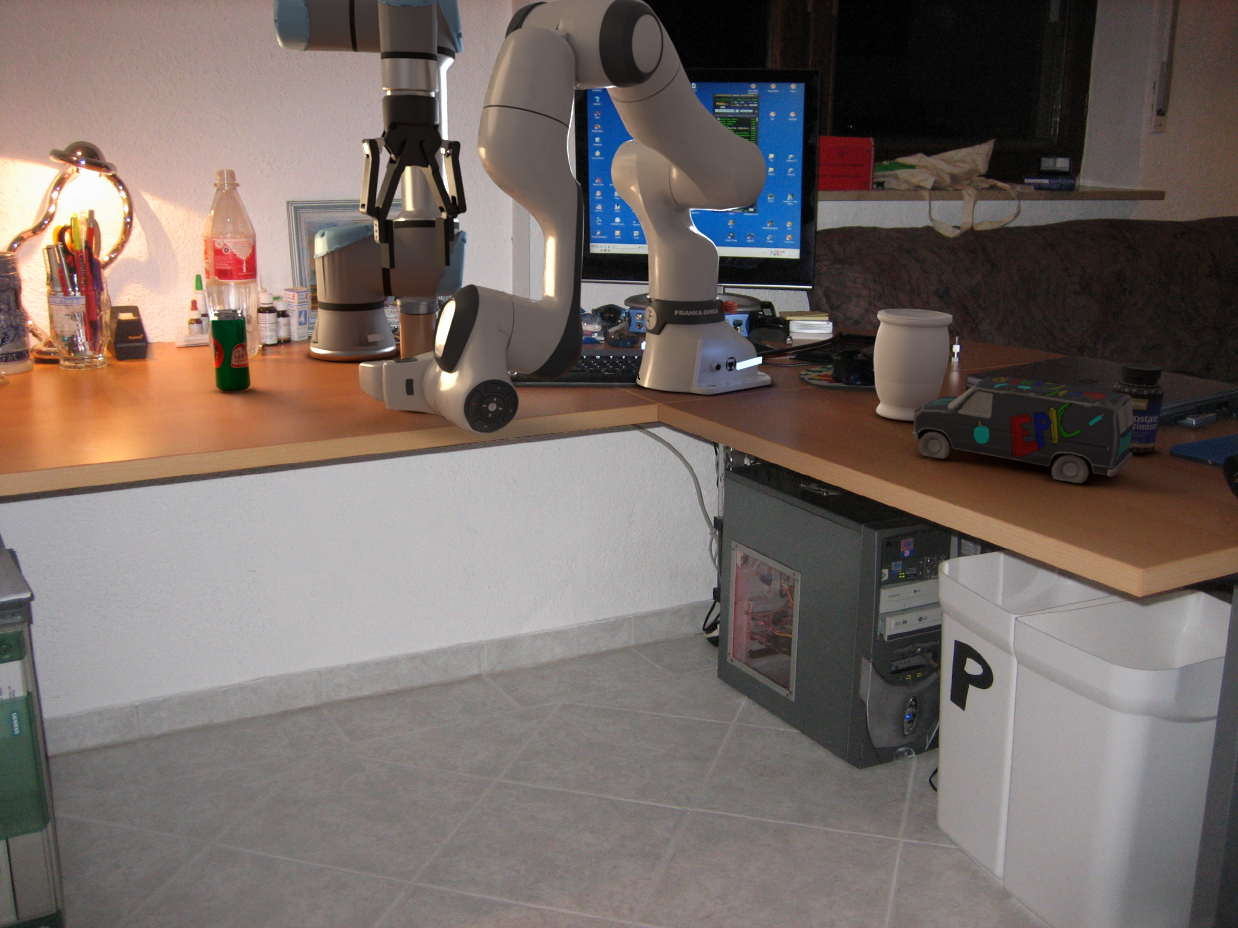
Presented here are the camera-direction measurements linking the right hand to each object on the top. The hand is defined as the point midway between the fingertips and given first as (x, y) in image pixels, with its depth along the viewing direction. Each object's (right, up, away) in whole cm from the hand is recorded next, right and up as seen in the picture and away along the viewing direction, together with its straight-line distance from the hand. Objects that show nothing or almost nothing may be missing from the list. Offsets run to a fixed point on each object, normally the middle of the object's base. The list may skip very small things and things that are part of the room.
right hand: (418, 363), depth 155 cm
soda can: (-30, -3, +10) cm, 32 cm away
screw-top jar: (0, -6, +1) cm, 7 cm away
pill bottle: (+96, -13, -14) cm, 98 cm away
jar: (+71, -8, +2) cm, 72 cm away
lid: (+1, +8, -3) cm, 9 cm away
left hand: (+1, +13, -5) cm, 14 cm away
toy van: (+79, -15, -21) cm, 83 cm away
